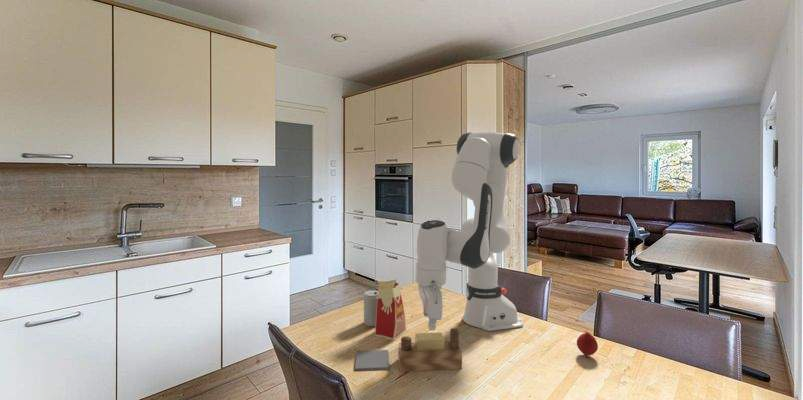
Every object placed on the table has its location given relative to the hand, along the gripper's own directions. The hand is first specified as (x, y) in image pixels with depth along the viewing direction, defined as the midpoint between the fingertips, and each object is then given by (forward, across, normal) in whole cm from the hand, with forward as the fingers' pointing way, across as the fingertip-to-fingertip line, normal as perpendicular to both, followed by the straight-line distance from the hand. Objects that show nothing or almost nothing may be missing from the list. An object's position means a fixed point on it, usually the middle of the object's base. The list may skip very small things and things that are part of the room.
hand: (428, 322), depth 105 cm
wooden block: (+8, 0, -1) cm, 8 cm away
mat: (+13, +4, +16) cm, 21 cm away
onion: (+12, +1, -51) cm, 52 cm away
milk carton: (+14, +21, +10) cm, 27 cm away
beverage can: (+14, +30, +16) cm, 36 cm away
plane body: (+13, 0, -1) cm, 13 cm away
